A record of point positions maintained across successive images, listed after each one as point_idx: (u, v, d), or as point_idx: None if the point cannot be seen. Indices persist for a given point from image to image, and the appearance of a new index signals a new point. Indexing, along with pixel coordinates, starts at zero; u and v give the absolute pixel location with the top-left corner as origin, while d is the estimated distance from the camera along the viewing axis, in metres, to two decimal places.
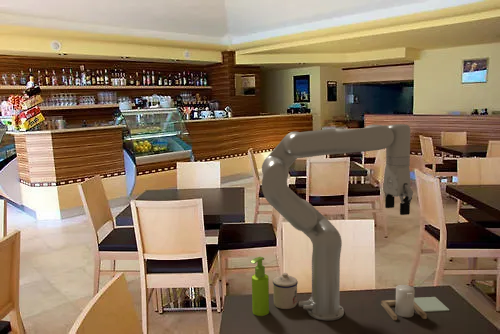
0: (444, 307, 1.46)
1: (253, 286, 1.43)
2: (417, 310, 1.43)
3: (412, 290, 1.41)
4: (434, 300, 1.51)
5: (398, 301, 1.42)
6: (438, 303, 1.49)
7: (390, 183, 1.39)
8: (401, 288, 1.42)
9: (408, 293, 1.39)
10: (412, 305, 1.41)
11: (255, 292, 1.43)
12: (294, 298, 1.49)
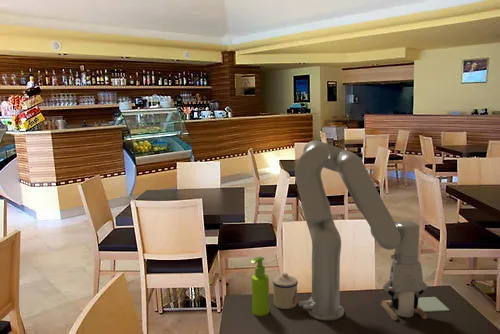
0: (444, 307, 1.46)
1: (253, 286, 1.43)
2: (417, 310, 1.43)
3: None
4: (434, 300, 1.51)
5: (398, 301, 1.42)
6: (438, 303, 1.49)
7: (410, 281, 1.39)
8: None
9: (408, 293, 1.39)
10: (412, 305, 1.41)
11: (255, 292, 1.43)
12: (294, 298, 1.49)
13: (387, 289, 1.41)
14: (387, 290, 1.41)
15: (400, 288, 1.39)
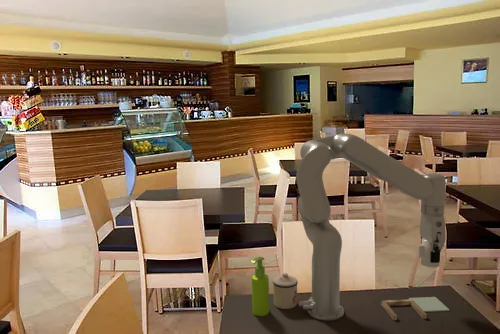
0: (444, 307, 1.46)
1: (253, 286, 1.43)
2: (417, 310, 1.43)
3: None
4: (434, 300, 1.51)
5: None
6: (438, 303, 1.49)
7: None
8: None
9: None
10: None
11: (255, 292, 1.43)
12: (294, 298, 1.49)
13: None
14: None
15: None
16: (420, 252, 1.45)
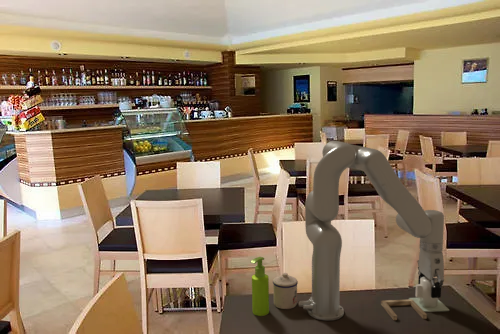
0: (444, 307, 1.46)
1: (253, 286, 1.43)
2: (417, 310, 1.43)
3: None
4: None
5: None
6: (438, 303, 1.49)
7: None
8: None
9: None
10: None
11: (255, 292, 1.43)
12: (294, 298, 1.49)
13: None
14: None
15: None
16: (418, 292, 1.47)
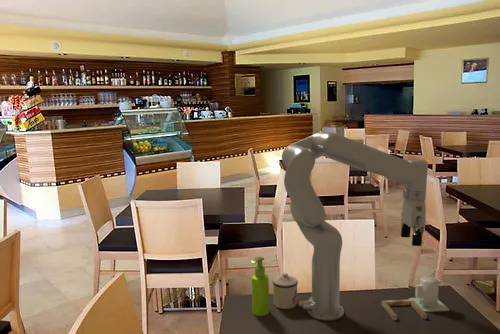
0: (444, 307, 1.46)
1: (253, 286, 1.43)
2: (417, 310, 1.43)
3: (431, 277, 1.49)
4: None
5: (435, 294, 1.45)
6: (438, 303, 1.49)
7: None
8: (431, 281, 1.46)
9: (439, 280, 1.47)
10: None
11: (255, 292, 1.43)
12: (294, 298, 1.49)
13: None
14: None
15: None
16: (418, 292, 1.47)
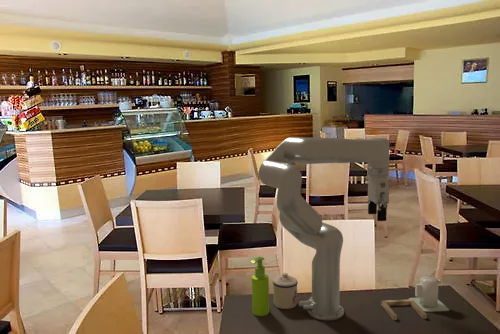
0: (444, 307, 1.46)
1: (253, 286, 1.43)
2: (417, 310, 1.43)
3: (432, 277, 1.50)
4: None
5: (435, 293, 1.45)
6: (438, 303, 1.49)
7: None
8: (431, 280, 1.46)
9: (439, 280, 1.47)
10: None
11: (255, 292, 1.43)
12: (294, 298, 1.49)
13: None
14: None
15: None
16: (418, 291, 1.48)
